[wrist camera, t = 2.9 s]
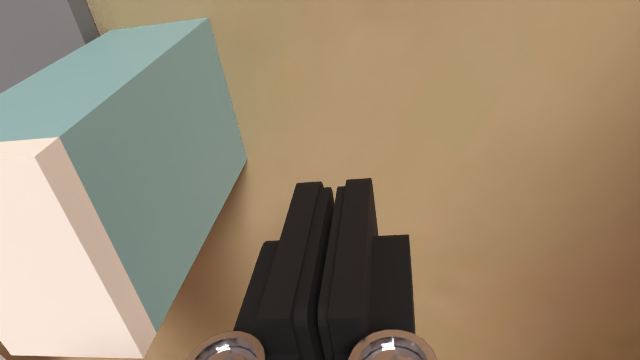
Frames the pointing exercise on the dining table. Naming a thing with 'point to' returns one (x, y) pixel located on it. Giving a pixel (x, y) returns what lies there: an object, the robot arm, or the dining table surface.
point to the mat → (40, 35)
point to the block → (111, 188)
